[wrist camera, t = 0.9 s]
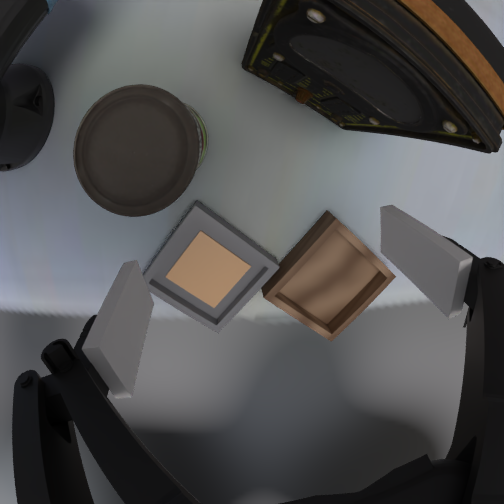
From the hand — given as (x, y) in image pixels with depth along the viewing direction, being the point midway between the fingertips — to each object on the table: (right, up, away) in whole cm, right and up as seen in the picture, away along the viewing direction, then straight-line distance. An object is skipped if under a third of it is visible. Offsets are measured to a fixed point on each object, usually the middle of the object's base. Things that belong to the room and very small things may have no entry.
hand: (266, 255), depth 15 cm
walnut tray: (+10, -3, +27) cm, 29 cm away
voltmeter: (+6, +21, +16) cm, 27 cm away
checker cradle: (-7, -2, +25) cm, 26 cm away
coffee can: (-11, +13, +18) cm, 25 cm away
